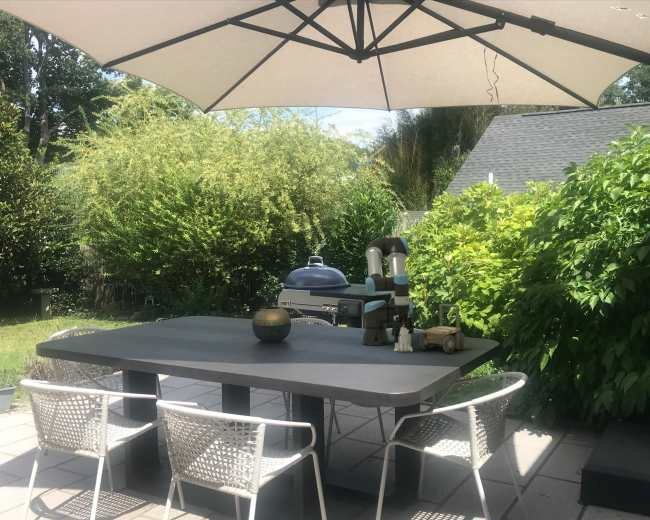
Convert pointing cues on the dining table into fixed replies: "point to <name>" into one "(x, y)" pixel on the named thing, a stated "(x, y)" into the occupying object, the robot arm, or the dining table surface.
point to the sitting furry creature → (404, 341)
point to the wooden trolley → (443, 334)
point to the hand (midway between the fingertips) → (403, 347)
